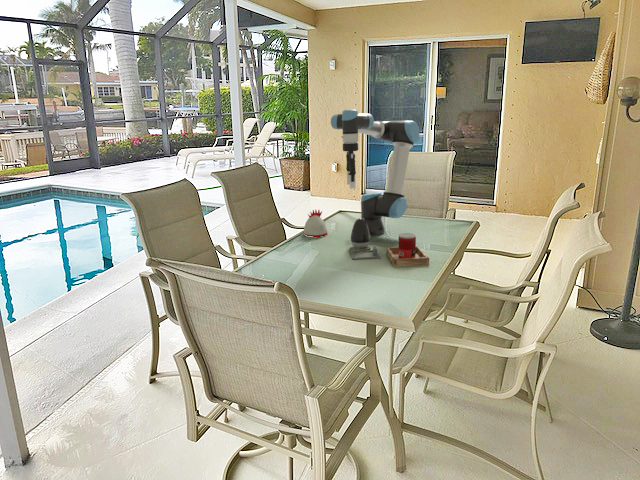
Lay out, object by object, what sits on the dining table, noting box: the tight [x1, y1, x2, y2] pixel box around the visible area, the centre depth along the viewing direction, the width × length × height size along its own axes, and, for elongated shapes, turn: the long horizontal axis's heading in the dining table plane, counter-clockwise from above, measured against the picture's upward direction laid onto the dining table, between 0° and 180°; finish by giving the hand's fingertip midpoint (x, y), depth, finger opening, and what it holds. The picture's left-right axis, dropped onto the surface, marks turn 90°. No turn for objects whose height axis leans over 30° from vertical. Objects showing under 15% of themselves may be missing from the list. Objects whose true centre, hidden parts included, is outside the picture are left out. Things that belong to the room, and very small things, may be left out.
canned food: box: [398, 232, 417, 258], centre depth 231 cm, size 8×8×11 cm
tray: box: [386, 245, 430, 267], centre depth 232 cm, size 20×16×3 cm
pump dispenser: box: [350, 217, 371, 249], centre depth 254 cm, size 10×10×15 cm
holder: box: [348, 245, 381, 261], centre depth 241 cm, size 14×14×4 cm
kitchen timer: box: [303, 209, 328, 238], centre depth 282 cm, size 14×14×15 cm
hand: (351, 186), depth 242 cm, fingers open, 13 cm apart
